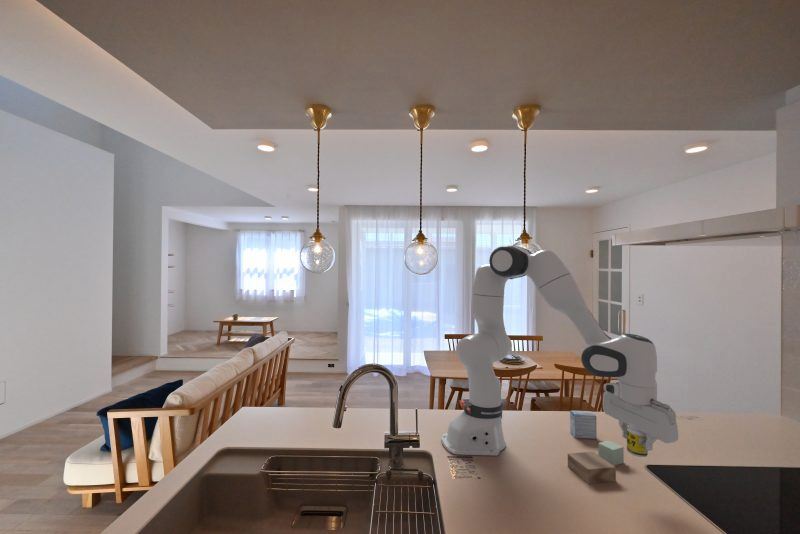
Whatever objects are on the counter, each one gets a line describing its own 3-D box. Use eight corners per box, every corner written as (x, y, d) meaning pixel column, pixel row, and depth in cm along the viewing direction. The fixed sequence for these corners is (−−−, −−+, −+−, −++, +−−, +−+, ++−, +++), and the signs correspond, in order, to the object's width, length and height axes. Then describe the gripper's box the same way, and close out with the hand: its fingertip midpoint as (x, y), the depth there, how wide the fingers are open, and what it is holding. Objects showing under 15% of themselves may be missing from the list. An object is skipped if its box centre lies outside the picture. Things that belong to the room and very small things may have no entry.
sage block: (613, 466, 107) (613, 450, 107) (598, 458, 111) (598, 443, 111) (623, 462, 109) (623, 447, 109) (608, 455, 113) (608, 440, 113)
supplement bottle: (622, 448, 97) (622, 418, 97) (639, 449, 96) (639, 419, 97) (634, 457, 92) (634, 426, 92) (652, 458, 92) (651, 426, 92)
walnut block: (588, 483, 97) (587, 469, 97) (567, 466, 106) (567, 453, 106) (615, 481, 98) (615, 467, 99) (593, 464, 107) (593, 451, 107)
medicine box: (591, 434, 129) (591, 411, 129) (597, 439, 125) (596, 415, 125) (569, 433, 130) (569, 410, 130) (574, 438, 125) (574, 414, 126)
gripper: (685, 406, 85) (685, 462, 85) (616, 381, 105) (615, 426, 105) (665, 408, 84) (665, 465, 83) (598, 382, 104) (598, 428, 103)
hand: (637, 443), depth 94 cm, fingers closed on supplement bottle, 5 cm apart
